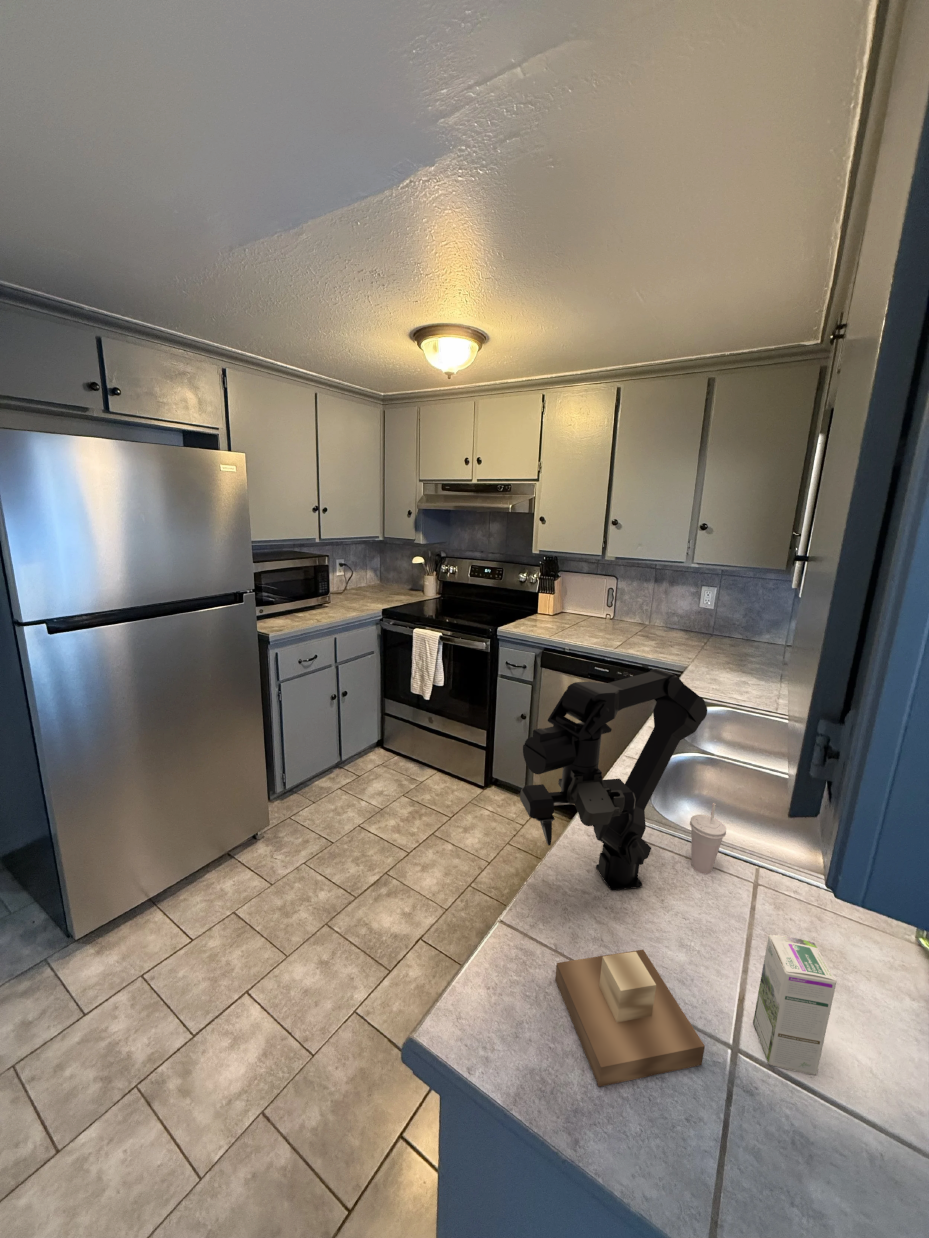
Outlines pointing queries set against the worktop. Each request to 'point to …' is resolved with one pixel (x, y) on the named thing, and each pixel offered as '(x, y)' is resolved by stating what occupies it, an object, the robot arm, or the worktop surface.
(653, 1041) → the walnut base
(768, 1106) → the worktop surface
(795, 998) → the syrup box
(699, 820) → the smoothie
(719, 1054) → the worktop surface
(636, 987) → the maple cube
